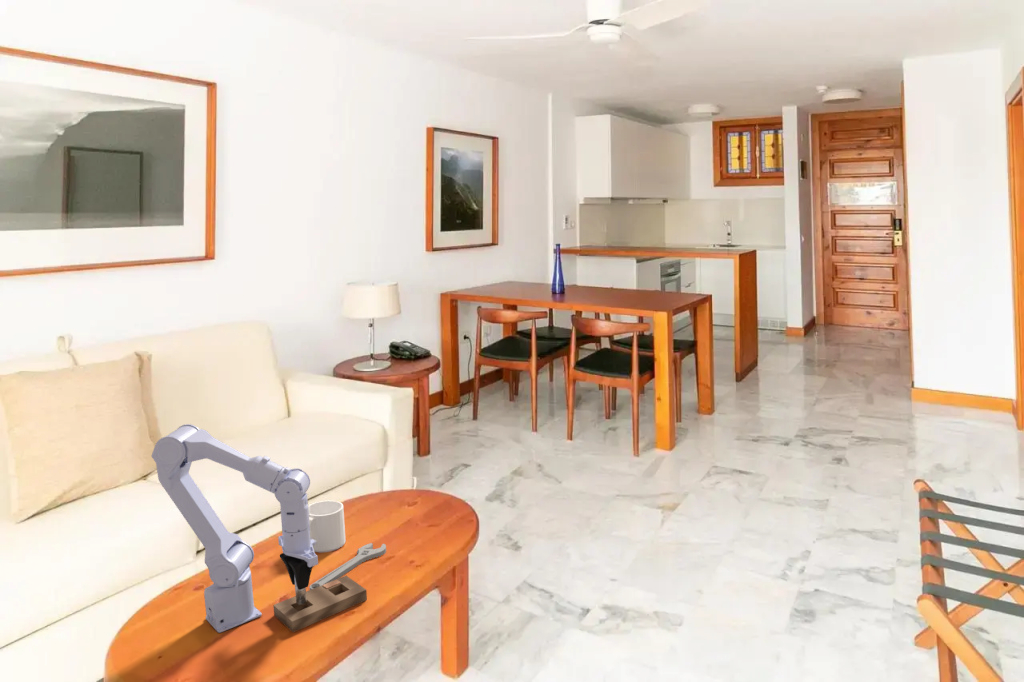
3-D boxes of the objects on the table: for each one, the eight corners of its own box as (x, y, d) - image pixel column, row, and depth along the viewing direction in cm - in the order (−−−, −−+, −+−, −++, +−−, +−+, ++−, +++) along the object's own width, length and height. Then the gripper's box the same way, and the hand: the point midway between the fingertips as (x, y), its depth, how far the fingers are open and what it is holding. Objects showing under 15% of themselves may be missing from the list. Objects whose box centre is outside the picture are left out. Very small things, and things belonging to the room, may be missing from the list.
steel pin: (299, 605, 151) (296, 571, 150) (294, 601, 153) (291, 567, 151) (308, 601, 153) (306, 568, 151) (303, 597, 154) (301, 564, 153)
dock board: (292, 632, 147) (292, 620, 146) (274, 615, 153) (273, 604, 153) (366, 599, 159) (366, 588, 159) (346, 585, 165) (346, 574, 165)
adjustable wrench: (315, 596, 162) (314, 589, 162) (297, 588, 166) (296, 581, 165) (390, 551, 182) (389, 545, 182) (372, 546, 186) (372, 539, 186)
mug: (323, 533, 193) (321, 498, 192) (353, 539, 189) (351, 503, 188) (292, 553, 182) (289, 516, 180) (323, 560, 178) (320, 522, 176)
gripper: (329, 531, 147) (333, 590, 149) (297, 511, 157) (301, 567, 160) (298, 542, 142) (302, 603, 145) (267, 520, 153) (272, 578, 155)
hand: (300, 585), depth 152 cm, fingers closed on steel pin, 2 cm apart
